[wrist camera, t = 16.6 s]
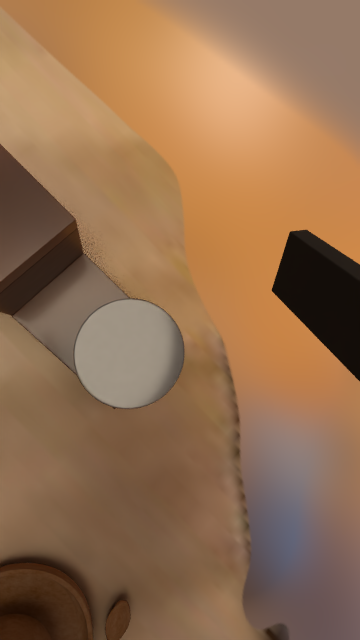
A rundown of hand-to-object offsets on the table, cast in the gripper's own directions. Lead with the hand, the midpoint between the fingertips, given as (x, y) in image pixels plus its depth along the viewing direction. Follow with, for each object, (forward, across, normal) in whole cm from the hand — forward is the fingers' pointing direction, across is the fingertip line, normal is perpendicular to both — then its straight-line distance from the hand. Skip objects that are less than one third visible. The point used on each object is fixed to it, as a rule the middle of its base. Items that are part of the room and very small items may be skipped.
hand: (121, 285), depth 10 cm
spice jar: (+7, 0, -10) cm, 13 cm away
